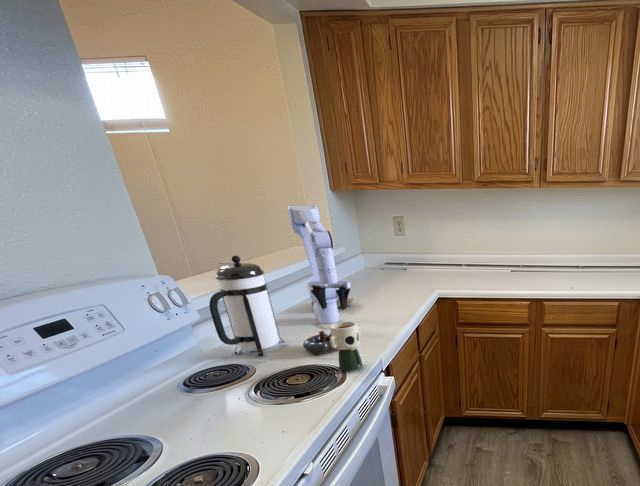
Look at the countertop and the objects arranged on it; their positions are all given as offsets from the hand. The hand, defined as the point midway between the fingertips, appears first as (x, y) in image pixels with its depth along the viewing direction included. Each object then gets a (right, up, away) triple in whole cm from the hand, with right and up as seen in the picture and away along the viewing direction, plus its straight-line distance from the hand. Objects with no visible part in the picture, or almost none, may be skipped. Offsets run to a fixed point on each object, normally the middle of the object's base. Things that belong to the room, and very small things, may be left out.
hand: (334, 308), depth 145 cm
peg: (+1, -15, -10) cm, 18 cm away
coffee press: (-20, -16, -10) cm, 28 cm away
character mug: (+15, -22, -26) cm, 37 cm away
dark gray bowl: (+1, -13, -11) cm, 17 cm away
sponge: (-15, +5, +36) cm, 40 cm away
